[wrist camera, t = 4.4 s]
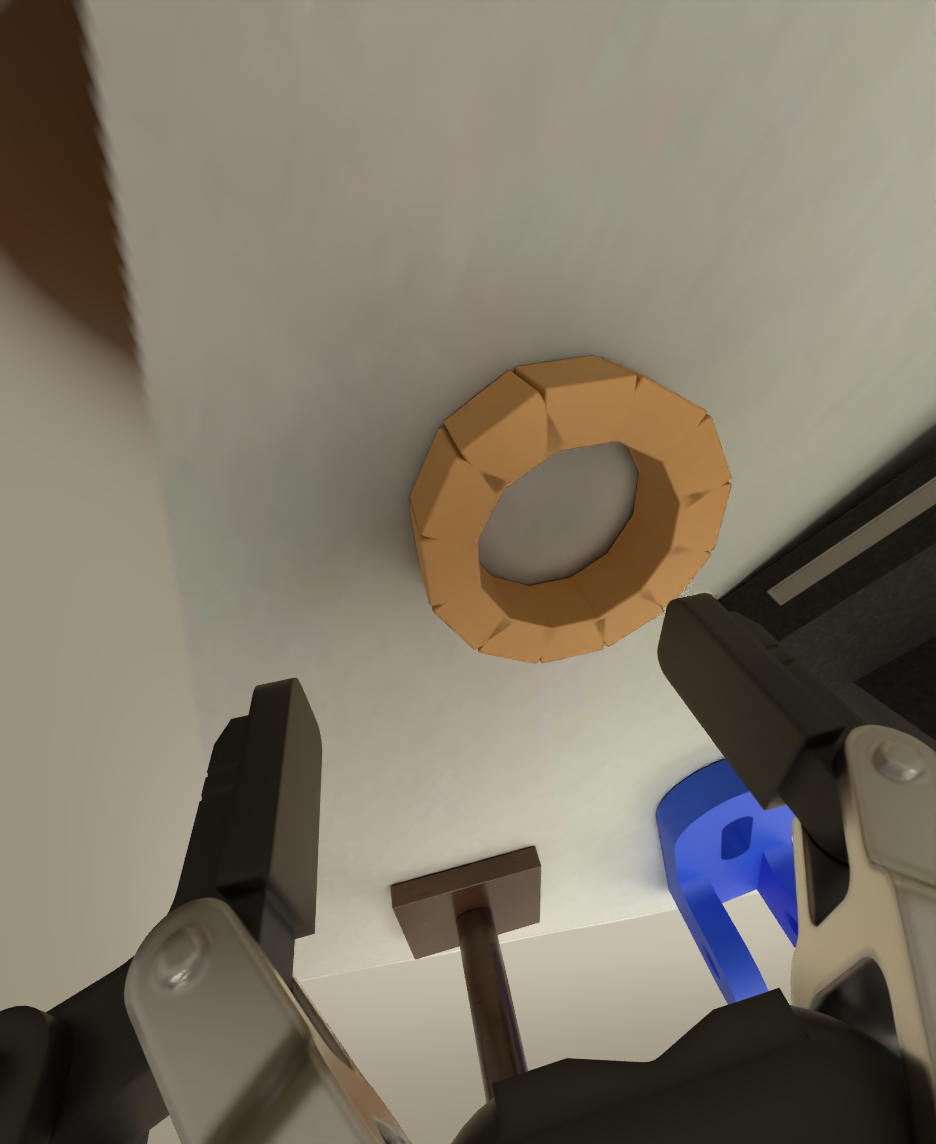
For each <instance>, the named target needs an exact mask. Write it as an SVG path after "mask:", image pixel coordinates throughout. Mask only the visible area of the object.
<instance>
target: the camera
mask: <svg viewBox="0 0 936 1144" xmlns="http://www.w3.org/2000/svg"><path fill="white" fill-rule="evenodd" d="M719 603H720V604H721V605H722V606H723V607H724V608H725V609H726V610H727V611H728V612H732V611H736V612H738V613H739V614H741V615H743V616H745V617H747V618H749V619H751V620H752V621H754V622H756V623H758V624H760V625H761V626H762V627H763V628H764V629H765V630H766V631H767V632H768V633H770V634H771V635H772V636H773V637H774V638H775V639H776V640H777V641H778V642H779V645H780V646H781V647H782V646H784V647H785V648H786V649H787V650H788V651H789V652H790V653H791V654H792V655H793V656H794V657H795V660H796V661H797V662H799V661H800V662H801V663H802V664H803V665H804V666H805V667H806V668H807V669H808V670H809V671H810V672H812V673H813V674H814V675H815V676H816V677H817V678H818V679H819V680H820V681H821V682H822V683H823V684H824V685H826V686H827V687H828V688H829V689H830V690H831V691H832V692H833V693H834V694H835V695H836V696H837V697H838V698H840V699H841V700H842V701H843V702H844V703H845V704H846V705H847V706H848V707H849V708H850V709H851V710H852V711H854V712H855V713H856V714H857V715H858V716H859V717H860V718H861V719H862V720H864V721H865V722H866V723H867V724H869V725H879V726H885V727H890V728H893V729H896V730H899V731H902V732H904V733H906V734H909V735H911V736H913V737H915V738H916V739H918V740H920V741H921V742H923V743H925V744H926V745H927V746H929V747H930V748H931V749H933V750H936V450H935V451H934V452H932V453H931V454H929V455H928V456H927V457H925V458H924V459H922V460H921V461H919V462H918V463H917V464H915V465H914V466H912V467H911V468H909V469H908V470H907V471H905V472H904V473H902V474H901V475H899V476H898V477H897V478H895V479H894V480H892V481H891V482H889V483H888V484H887V485H885V486H884V487H882V488H881V489H879V490H878V491H877V492H875V493H874V494H872V495H871V496H869V497H868V498H867V499H865V500H864V501H862V502H861V503H859V504H858V505H857V506H855V507H854V508H852V509H851V510H849V511H848V512H847V513H845V514H844V515H842V516H841V517H839V518H838V519H837V520H835V521H834V522H832V523H831V524H829V525H828V526H827V527H825V528H824V529H822V530H821V531H819V532H818V533H817V534H815V535H814V536H812V537H811V538H809V539H808V540H807V541H805V542H804V543H802V544H801V545H799V546H798V547H797V548H795V549H794V550H792V551H791V552H789V553H788V554H787V555H785V556H784V557H782V558H781V559H779V560H778V561H777V562H775V563H774V564H772V565H771V566H769V567H768V568H767V569H765V570H764V571H762V572H761V573H759V574H758V575H757V576H755V577H754V578H752V579H751V580H749V581H748V582H747V583H745V584H744V585H742V586H741V587H739V588H738V589H737V590H735V591H734V592H732V593H731V594H729V595H728V596H727V597H725V598H724V599H722V600H721V601H719Z"/></svg>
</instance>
